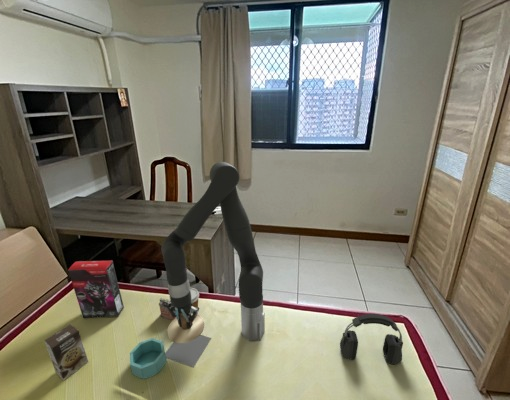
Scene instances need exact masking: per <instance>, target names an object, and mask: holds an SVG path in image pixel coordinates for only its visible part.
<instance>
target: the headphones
mask: <svg viewBox="0 0 510 400" xmlns="http://www.w3.org/2000/svg"><path fill="white" fill-rule="evenodd" d="M351 320H352V322H350V323H349V324H348V325H347V326H346V328H345V330H344V332H343V333H342V337H341V339H340V342H339V350H340V353H341V355H342V357H343V358H345V359H349V360H356V358H357V354H358V349H359V348H358V347H359V340H358V336H357V333H356V331H355V330H350V329H351V328H353V327H355V328H357V327H359V326H361V325H362V324H363V325H369V324H370V325H372V324H373V325H374V324H376V325H382V326H384V327H385V326H386V327H391V329H393V330H394V331H395V332H398V333H399V336H397V335H396V334H389V333H388V334H386V335H385V337H384V340H383V346H382V353H383V357H384V359H385V362H386V363H387V364H391V365H396V364H397V365H398V364H401V362H402V361H403V345H404V342H403V335H402V332H401V330H400V329H399V327H398V326H397V324H396V322H395V321H394V320H393V319H392V318H390V317H389V316H386V315H382V314H378V313H366V314H361V315H358V316H356V317H354V318H352V319H351Z"/></svg>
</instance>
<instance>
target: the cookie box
mask: <svg viewBox="0 0 510 400" xmlns="http://www.w3.org/2000/svg"><path fill="white" fill-rule="evenodd" d="M82 340H83V339H82V337H81V334H80V331H79V329H77V328H76V327H74V325H73V324H71V323H69V324H68V325H67V326H64V327H63V328H62V329H60V330H58V331H57V332H56V333H54V334H52V335H50V336H49V337H47V338H46V339H44V340H43V341H44V343H45V344H44V345H45V346H46V347H45V348H46V349H47V352H48V354H49V357H50V359H51V360H50V361H51V362H52V366H53V369H54V372H55V373H56V375H57V376H58V377H60V379H61V380H63V381H65V380H66V379H68V378H69V377H70V376H72V375H73V374H74V373H76V372H77V371H78V370H79V369H81V368H82V367H84V366H85V365H86V364H88V363H89V359H88V356H87V352H86V349H85V347H84V343H83V341H82Z"/></svg>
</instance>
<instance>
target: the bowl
mask: <svg viewBox="0 0 510 400" xmlns="http://www.w3.org/2000/svg"><path fill="white" fill-rule="evenodd" d="M165 353H166V350H165V345H164V341H162V340H160V339H156V338H153V337H152V338H149V339H146V340H143V341H141V342H139V343H137V345H136V346H135V347H134V348H133V349H132V350H131V351H130V352H129V364H130V369H131V372H132V375H133V376H136V377H137V378H139V379H142V380H145V379H146V378H147V379H148V378H151V377H153V376H155V375H158V374H159V372H161V370H162V369H163V368H164V366H165V364H166V363H167V358H166V355H165Z"/></svg>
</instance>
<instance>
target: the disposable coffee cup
mask: <svg viewBox="0 0 510 400" xmlns="http://www.w3.org/2000/svg"><path fill="white" fill-rule="evenodd" d="M190 291H191V303H192V304H193V307H195V308H197V307H199V298H200V292H199V291H198V289H197V288H194V287H190ZM191 311H192V310H191ZM191 313H192V312H191Z"/></svg>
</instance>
